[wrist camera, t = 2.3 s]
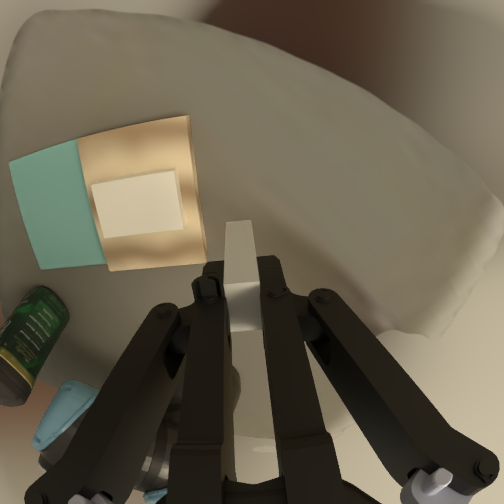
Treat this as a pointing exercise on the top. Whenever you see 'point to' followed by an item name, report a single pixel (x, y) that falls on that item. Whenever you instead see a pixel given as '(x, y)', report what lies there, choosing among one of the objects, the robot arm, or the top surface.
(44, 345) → the coffee jar
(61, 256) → the mat
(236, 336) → the top surface
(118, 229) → the card
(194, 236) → the tan flat block
